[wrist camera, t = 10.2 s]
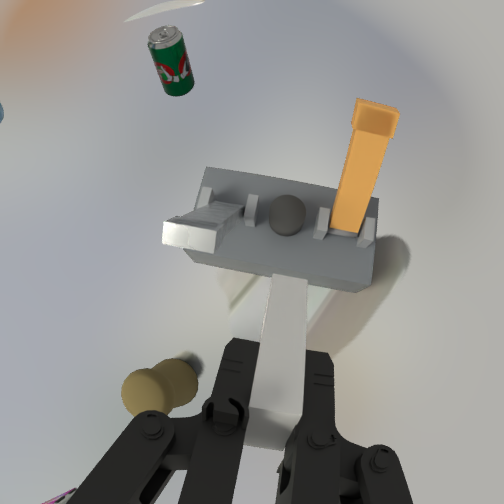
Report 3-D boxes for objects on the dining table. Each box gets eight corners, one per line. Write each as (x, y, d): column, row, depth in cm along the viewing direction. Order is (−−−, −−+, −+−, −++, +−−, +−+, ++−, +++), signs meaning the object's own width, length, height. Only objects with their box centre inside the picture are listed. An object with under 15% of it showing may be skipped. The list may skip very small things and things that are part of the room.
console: (355, 292, 38) (379, 280, 30) (194, 262, 40) (176, 241, 31) (364, 217, 40) (386, 187, 32) (213, 189, 42) (202, 154, 34)
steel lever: (246, 218, 35) (213, 253, 21) (213, 212, 35) (161, 243, 21) (248, 204, 34) (216, 231, 20) (215, 199, 35) (164, 221, 21)
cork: (146, 397, 36) (106, 415, 25) (156, 352, 37) (118, 356, 26) (192, 412, 35) (166, 438, 24) (203, 366, 36) (180, 377, 26)
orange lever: (357, 242, 33) (399, 113, 23) (324, 235, 33) (358, 102, 23) (356, 233, 34) (396, 108, 24) (324, 226, 34) (356, 97, 24)
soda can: (189, 73, 48) (175, 20, 36) (199, 91, 47) (185, 35, 35) (161, 84, 48) (142, 32, 36) (169, 102, 46) (149, 49, 35)
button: (300, 239, 33) (303, 232, 31) (265, 232, 33) (265, 225, 31) (305, 207, 34) (308, 198, 32) (272, 201, 34) (272, 191, 32)
